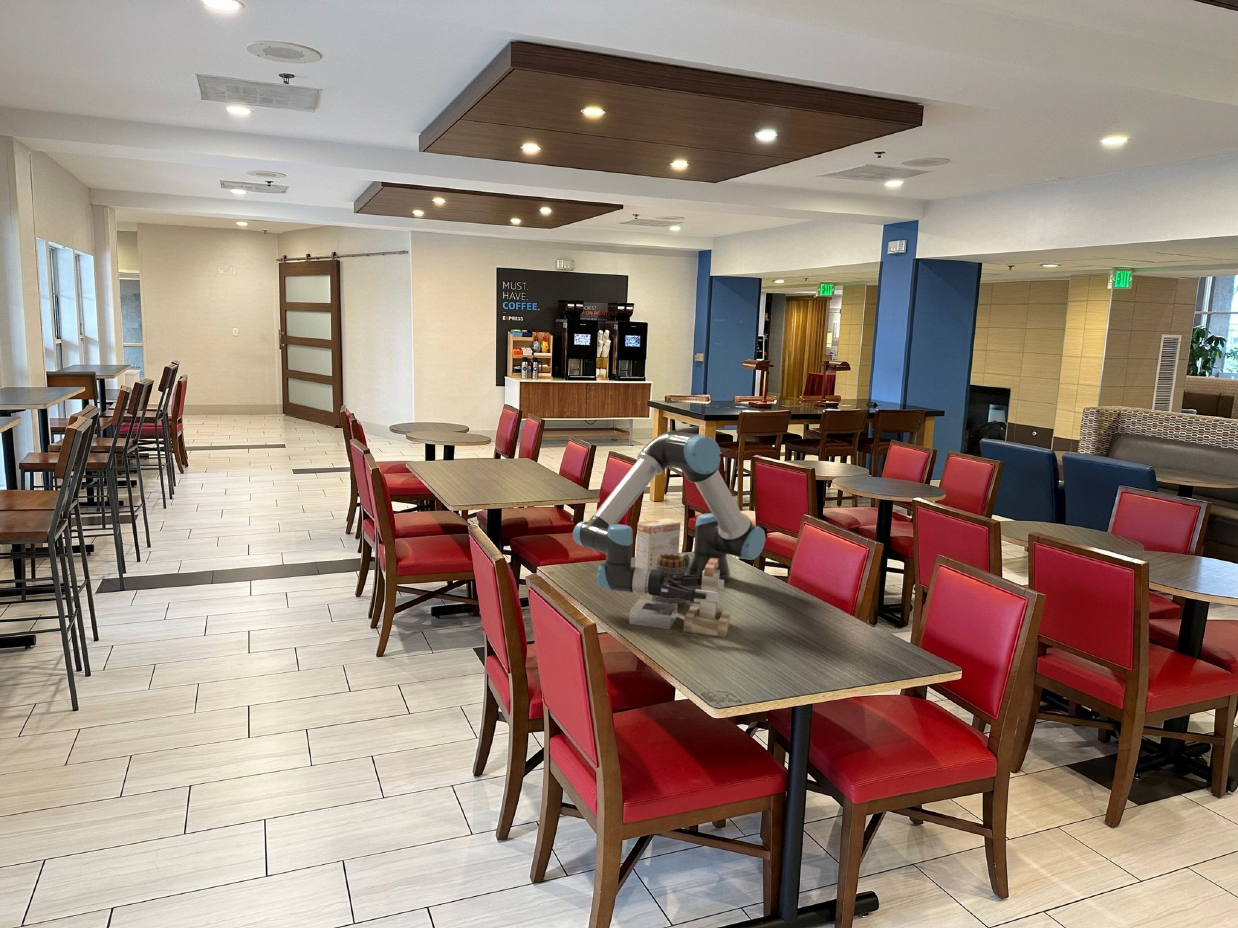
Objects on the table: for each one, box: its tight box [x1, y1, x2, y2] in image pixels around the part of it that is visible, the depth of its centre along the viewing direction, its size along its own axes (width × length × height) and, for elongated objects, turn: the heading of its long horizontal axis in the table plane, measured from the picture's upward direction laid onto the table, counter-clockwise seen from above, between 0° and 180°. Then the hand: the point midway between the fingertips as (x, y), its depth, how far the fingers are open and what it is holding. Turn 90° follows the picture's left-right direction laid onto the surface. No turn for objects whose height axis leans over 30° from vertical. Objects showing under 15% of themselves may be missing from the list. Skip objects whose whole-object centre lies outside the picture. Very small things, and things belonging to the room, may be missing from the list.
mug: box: [651, 553, 691, 608], centre depth 266 cm, size 16×11×15 cm
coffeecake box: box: [634, 518, 682, 571], centre depth 295 cm, size 15×7×20 cm, turn 130°
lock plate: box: [628, 598, 679, 630], centre depth 246 cm, size 12×12×4 cm
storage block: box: [683, 605, 732, 638], centre depth 243 cm, size 12×12×4 cm
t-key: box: [699, 558, 720, 619], centre depth 242 cm, size 12×4×19 cm, turn 166°
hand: (721, 590), depth 241 cm, fingers open, 13 cm apart
